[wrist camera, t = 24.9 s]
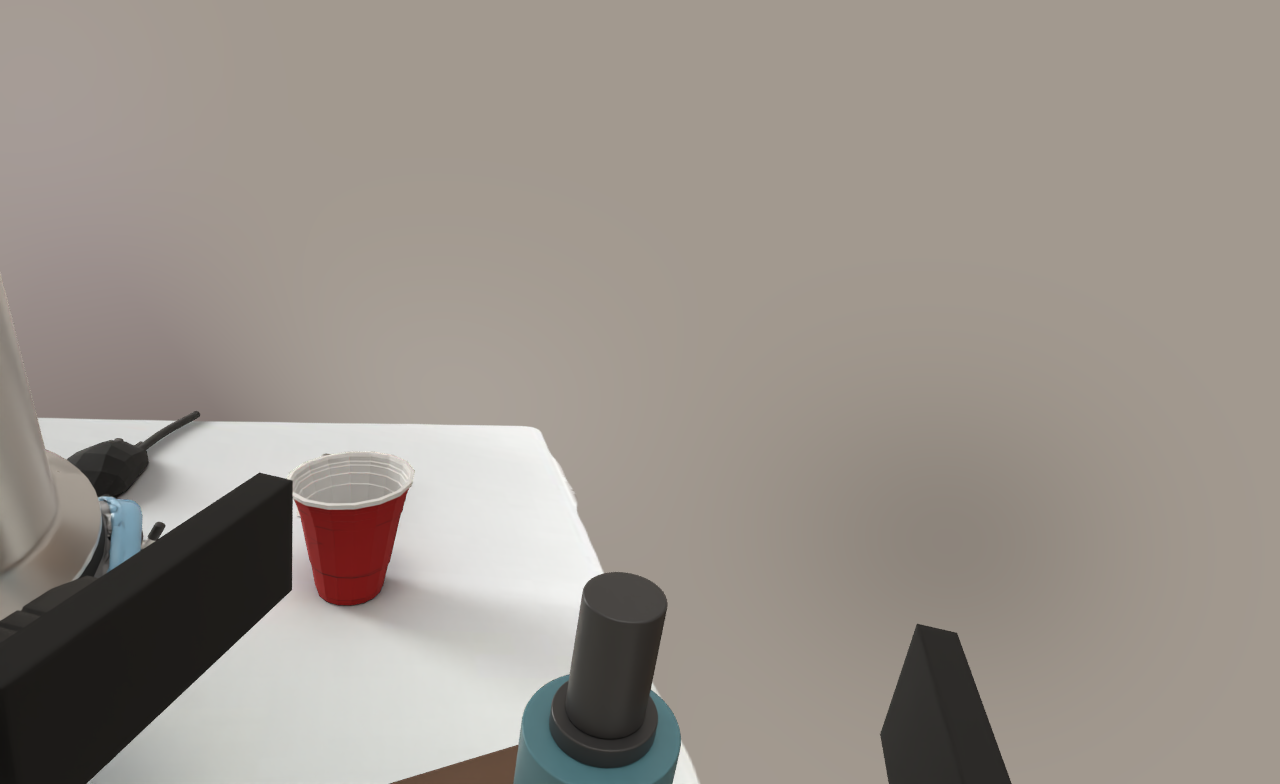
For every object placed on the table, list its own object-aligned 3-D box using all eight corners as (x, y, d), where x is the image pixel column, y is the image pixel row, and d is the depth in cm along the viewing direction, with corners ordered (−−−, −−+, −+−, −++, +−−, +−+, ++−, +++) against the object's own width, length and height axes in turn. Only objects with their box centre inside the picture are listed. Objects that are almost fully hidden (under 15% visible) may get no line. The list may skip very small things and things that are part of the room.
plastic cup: (313, 548, 78) (315, 438, 74) (421, 564, 78) (429, 456, 74) (261, 613, 68) (260, 491, 64) (386, 632, 68) (392, 510, 64)
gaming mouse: (170, 446, 92) (169, 415, 91) (112, 508, 79) (109, 472, 77) (111, 442, 91) (108, 410, 90) (41, 504, 77) (37, 468, 76)
